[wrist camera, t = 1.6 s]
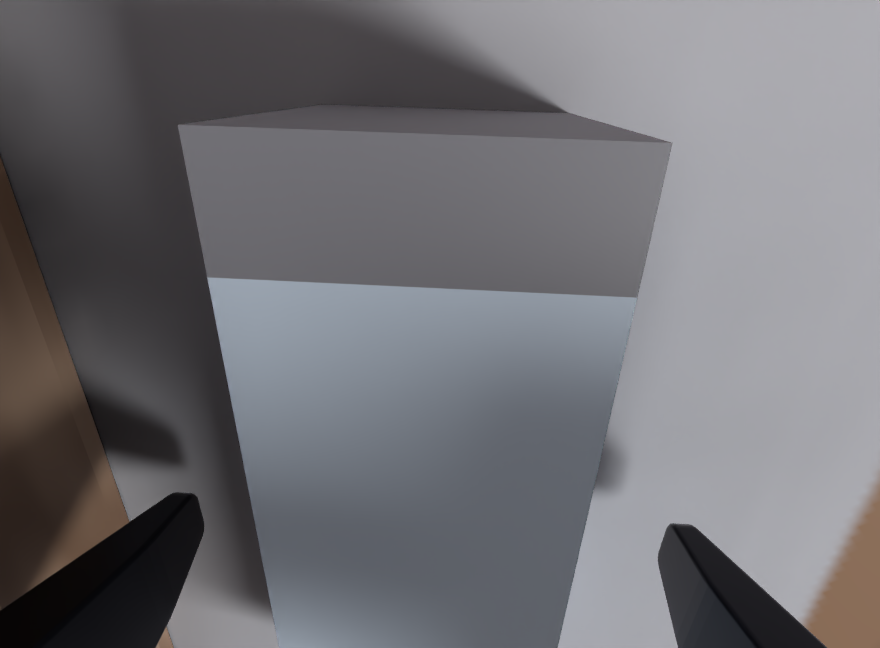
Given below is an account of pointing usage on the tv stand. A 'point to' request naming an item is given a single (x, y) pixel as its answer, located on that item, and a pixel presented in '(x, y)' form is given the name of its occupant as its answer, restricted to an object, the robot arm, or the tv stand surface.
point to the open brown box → (43, 430)
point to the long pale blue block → (421, 355)
